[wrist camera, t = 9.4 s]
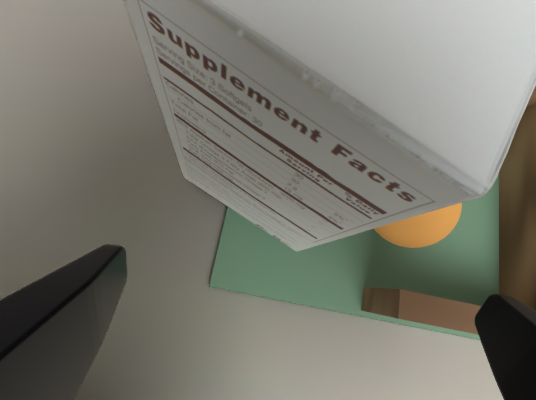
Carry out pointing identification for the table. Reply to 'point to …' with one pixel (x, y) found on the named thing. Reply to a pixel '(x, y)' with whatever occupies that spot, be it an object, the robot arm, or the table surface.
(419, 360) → the table surface
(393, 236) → the ball
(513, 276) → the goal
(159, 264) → the table surface
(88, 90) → the table surface
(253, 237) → the pitch mat
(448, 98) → the supplement box
